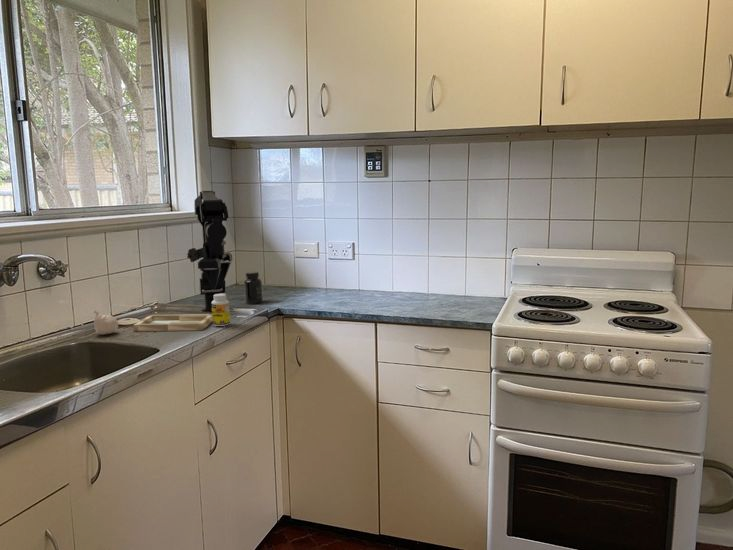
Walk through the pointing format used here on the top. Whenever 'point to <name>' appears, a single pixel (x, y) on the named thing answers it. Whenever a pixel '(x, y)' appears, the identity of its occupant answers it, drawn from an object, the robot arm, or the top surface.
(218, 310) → the supplement bottle
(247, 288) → the supplement bottle
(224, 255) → the robot arm
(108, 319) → the garlic bulb
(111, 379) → the top surface
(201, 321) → the keyhole tray
